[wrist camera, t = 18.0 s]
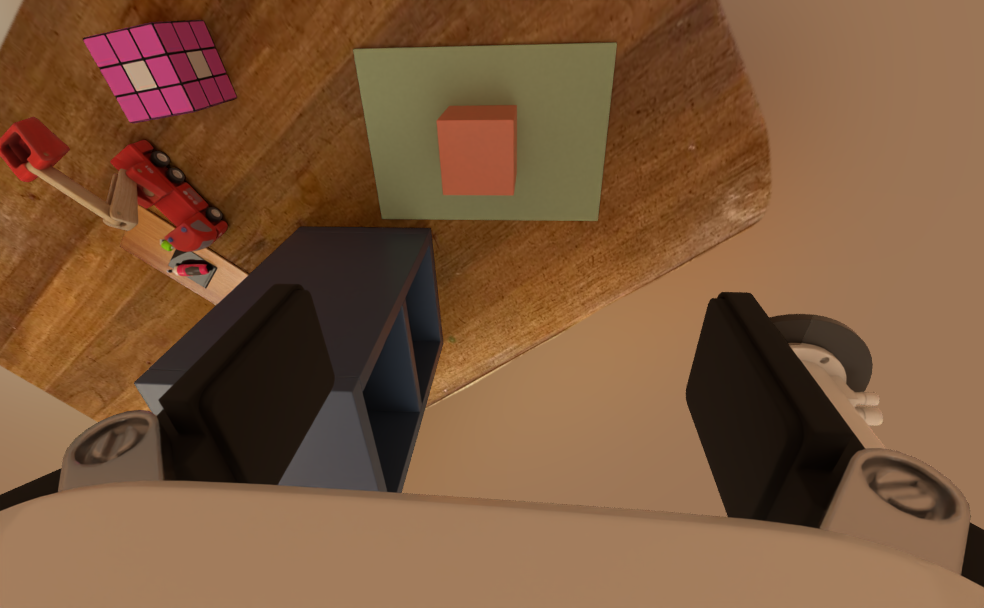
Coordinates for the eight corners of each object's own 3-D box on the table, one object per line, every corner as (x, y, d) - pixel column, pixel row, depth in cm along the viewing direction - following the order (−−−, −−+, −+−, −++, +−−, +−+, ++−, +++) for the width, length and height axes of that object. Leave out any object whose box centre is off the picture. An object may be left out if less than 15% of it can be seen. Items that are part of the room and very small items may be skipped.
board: (137, 202, 44) (126, 208, 43) (250, 275, 48) (243, 282, 47) (121, 245, 47) (109, 252, 46) (228, 310, 51) (221, 318, 50)
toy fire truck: (214, 241, 46) (146, 291, 38) (92, 118, 40) (-19, 147, 32) (235, 226, 45) (170, 275, 37) (113, 97, 39) (3, 122, 31)
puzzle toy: (179, 109, 39) (129, 124, 34) (140, 33, 36) (80, 38, 31) (238, 98, 38) (195, 111, 33) (203, 19, 35) (151, 22, 30)
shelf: (430, 227, 43) (352, 392, 25) (443, 343, 51) (390, 533, 33) (299, 226, 44) (132, 382, 26) (331, 339, 52) (219, 521, 34)
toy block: (517, 104, 36) (513, 119, 32) (516, 173, 39) (513, 195, 35) (448, 105, 37) (436, 120, 32) (453, 173, 40) (442, 195, 35)
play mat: (616, 42, 34) (617, 42, 33) (597, 219, 41) (597, 221, 41) (354, 48, 35) (352, 49, 35) (383, 217, 43) (381, 219, 43)
